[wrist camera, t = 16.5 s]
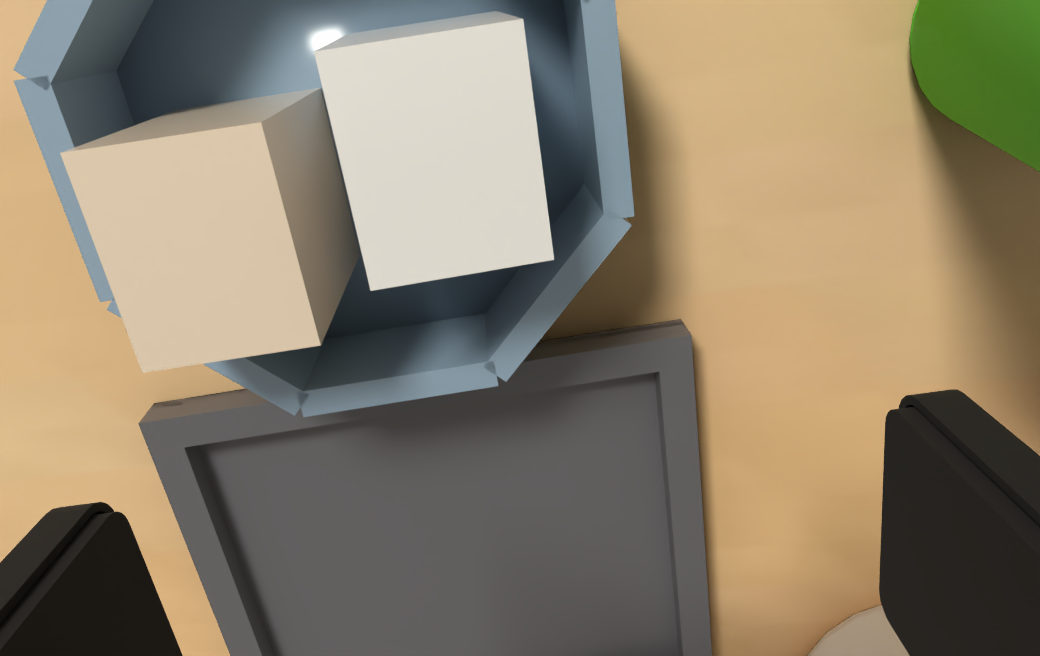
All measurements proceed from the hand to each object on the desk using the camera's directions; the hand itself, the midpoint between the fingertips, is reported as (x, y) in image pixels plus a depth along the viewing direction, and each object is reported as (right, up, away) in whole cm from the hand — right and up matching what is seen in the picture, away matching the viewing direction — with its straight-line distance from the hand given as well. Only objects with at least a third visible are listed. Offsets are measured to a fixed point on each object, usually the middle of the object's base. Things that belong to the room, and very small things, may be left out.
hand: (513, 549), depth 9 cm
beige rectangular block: (-6, +6, +11) cm, 14 cm away
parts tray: (-2, -5, +16) cm, 17 cm away
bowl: (-4, +8, +11) cm, 14 cm away
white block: (-2, +8, +10) cm, 13 cm away
